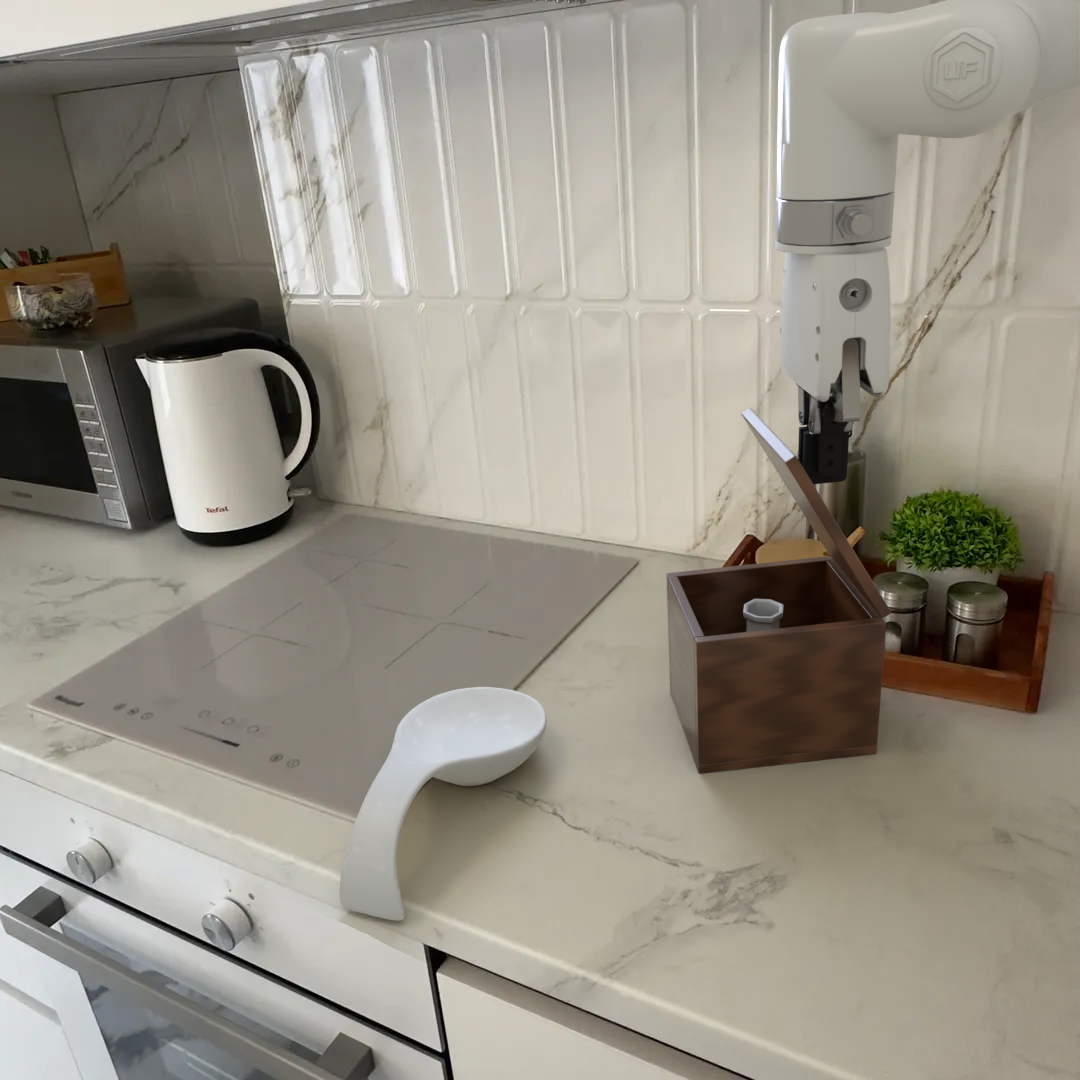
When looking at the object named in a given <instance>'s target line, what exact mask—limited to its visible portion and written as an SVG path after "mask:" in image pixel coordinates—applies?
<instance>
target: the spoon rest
mask: <svg viewBox="0 0 1080 1080" xmlns="http://www.w3.org/2000/svg"><path fill="white" fill-rule="evenodd" d="M546 713H547V712H546V710H545V708H544V706H543V705H542V704H541V703H540V702H539V701H538V700H537V699H535V698H533V697H532V696H531V695H529V694H525V693H523V692H521V691H517V690H515V689H508V688H503V687H492V686H475V687H473V686H472V687H465V688H458V689H452V690H449V691H446V692H441V693H439V694H435V695H434V696H432V697H430V698H428V699H425V700H424V701H422V702H420V703H419V704H417V705H415V706H414V707H413V708H412V709H410V710H409V711H408V712H407V713H406V714H405V715H404V716H403V718H402V719H400V722H399V723H398V725H397V727H396V729H395V733H394V737H393V741H392V746H391V749H390V751H389V754H388V755H387V758H386V760H385V761H384V763H383V765H382V766H381V768H380V769H379V771H378V773H377V774H376V776H375V777H374V779H373V780H372V783H371V784H370V786H369V788H368V790H367V793H366V795H365V797H364V799H363V801H362V804H361V805H360V809H359V811H358V813H357V816H356V819H355V821H354V824H353V827H352V830H351V833H350V836H349V839H348V842H347V846H346V849H345V853H344V858H343V862H342V867H341V873H340V880H339V903H340V905H341V907H342V908H343V909H345V910H348V911H352V912H355V913H360V914H364V915H368V916H370V917H371V916H372V917H376V918H379V919H384V920H388V921H395V922H397V921H399V922H400V921H402V920H404V918H405V908H404V904H403V900H402V894H401V889H400V884H399V877H398V871H397V870H398V869H397V867H398V866H397V852H398V843H399V837H400V834H401V831H402V827H403V824H404V821H405V818H406V816H407V814H408V812H409V809H410V807H411V805H412V803H413V801H414V799H415V798H416V796H417V795H418V793H419V791H420V790H421V789H422V788H423V787H424V785H425V784H426V783H427V782H429V780H431V779H432V778H435V779H437V780H440V781H442V782H446V783H450V784H453V785H457V786H461V787H474V786H475V787H477V786H482V785H485V784H490V783H492V782H494V781H496V780H498V779H500V778H502V777H503V776H506V775H508V774H509V773H511V772H513V771H514V770H516V769H517V768H518V767H520V766H521V765H522V764H524V763H525V761H526V760H528V759H529V758H530V756H531V755H532V754H533V753H534V752H535V750H536V749H537V748H538V746H539V744H540V742H541V741H542V738H543V736H544V734H545V732H546V728H547V725H548V724H547V723H548V718H547V714H546Z"/></svg>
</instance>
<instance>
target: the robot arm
mask: <svg viewBox="0 0 1080 1080" xmlns="http://www.w3.org/2000/svg"><path fill="white" fill-rule="evenodd" d="M778 56H779V57H778V87H777V89H778V90H777V92H778V93H777V135H776V139H777V141H776V187H775V190H776V191H775V192H776V193H775V196H776V198H775V226H774V227H775V231H774V233H775V234H774V244H775V245H774V249H775V250H776V251H778V252H782V253H785V256H784V263H783V271H782V272H783V273H782V274H783V277H782V286H781V287H782V288H781V290H782V291H781V301H780V321H779V322H780V323H779V356H780V357H779V358H780V365H781V367H782V370H783V372H784V373H785V374H786V376H788V377H789V378H790V379H791V380H792V381H793V382H795V384H796V387H797V401H798V402H797V403H798V404H797V407H798V409H797V410H798V411H797V412H798V413H797V414H798V423H799V425H800V426H799V427H798V444H797V459H798V460H799V462H800V464H801V465H802V467H803V468H804V470H805V472H806V473H807V475H808V477H809V478H810V480H811V482H812V483H813V485H820V484H831V483H832V484H833V483H842V482H844V481H846V479H847V478H848V463H849V462H848V461H849V445H850V443H849V442H850V432H851V431H852V426H853V425H852V424H853V422H859V421H860V420H861V417H862V408H861V407H862V406H861V405H862V404H861V389H862V390H863V391H865V392H866V393H868V394H869V395H870V396H872V397H875V398H880V397H882V396H884V395H885V394H886V393H887V391H888V389H889V381H890V360H891V359H890V356H891V354H890V353H891V283H890V282H891V281H890V269H889V268H890V267H889V259H888V250H887V249H886V248H887V247H889V246H891V245H892V234H893V221H894V206H895V191H896V190H895V189H896V174H897V160H898V159H897V158H898V145H899V135H907V136H917V137H918V136H919V137H929V138H941V139H963V138H964V139H965V138H970V137H974V136H979V135H982V134H985V133H987V132H989V131H991V130H994V129H995V128H997V127H998V126H1000V125H1001V124H1002V123H1004V122H1005V121H1006V120H1007V119H1009V118H1010V117H1012V116H1014V115H1016V114H1018V113H1020V112H1023V111H1025V110H1028V109H1029V108H1032V107H1034V106H1036V105H1038V104H1041V103H1043V102H1046V101H1049V100H1050V99H1053V98H1055V97H1057V96H1060V95H1062V94H1064V93H1066V92H1067V93H1068V92H1069V91H1071V90H1074V89H1076V88H1078V87H1080V0H943V1H938V2H935V3H931V4H927V5H923V6H920V7H915V8H911V9H907V10H902V11H896V12H892V13H888V12H880V11H867V12H853V13H852V12H851V13H844V14H843V13H842V14H835V15H834V14H832V15H825V16H818V17H812V18H811V17H810V18H808V19H803V20H800V21H798V22H795V23H794V24H792V25H791V26H790V27H789V28H788V29H786V31H785V33H784V35H782V39H781V41H780V46H779V54H778Z"/></svg>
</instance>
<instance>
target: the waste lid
mask: <svg viewBox="0 0 1080 1080" xmlns="http://www.w3.org/2000/svg"><path fill="white" fill-rule="evenodd" d="M740 415H741V416H742V418H743V420H744V421H745V423H746V424H747V426H748V428H749V429H750V431H751V433H752V434H753V435H754V437H755V439H756V440H757V442H758V444H759V445H760V447H761V448H762V450H763V452H764V453H765V455H766V456H767V458H768V459H769V461H770V463H771V465H772V466H773V468H774V469H775V471H776V472H777V474H778V476H779V477H780V479H781V481H782V482H783V483H784V486H785V487H786V488H787V490H788V491H789V493H790V495H791V497H792V498H793V499H794V501H795V503H796V504H797V506H798V507H799V509H800V511H801V512H802V514H803V515H804V517H805V518H806V520H807V522H808V524H809V525H810V527H811V528H812V530H813V532H814V533H815V535H816V536H817V538H818V539H819V542H820V543H821V544H822V546H823V548H824V549H825V551H826V552H827V554H828V556H831V557H832V558H833V560H834V561H835V562H836V563H837V565H838V566H839V567H840V568H841V569H842V571H843V572H844V573H845V574H846V576H847V577H848V578H849V579H850V581H851V582H852V583H853V584H854V585H855V587H856V588H857V589H858V590H859V592H860V593H861V594H862V595H863V597H864V598H865V599H866V600H867V601H868V603H869V604H870V605H871V606H872V608H873V609H874V610H875V611H876V612H877V614H878V615H879V616H880V617H881V618H883V619H884V618H886V617H887V616H890V615H891V614H892V610H891V609H890V607H889V606H888V604H887V603H886V601H885V599H884V598H883V596H882V594H881V592H880V590H878V588H877V586H876V584H875V583H874V581H873V580H872V578H871V576H870V575H869V573H868V571H867V570H866V567H864V565H863V564H862V563H863V562H861V560H860V558H859V556H858V555H857V553H856V552H855V550H854V549H853V547H852V545H851V544H850V542H849V540H848V539H847V537H846V535H845V534H844V532H843V531H842V529H841V527H840V526H839V524H838V522H837V521H836V519H835V517H834V516H833V513H832V512H831V511H830V509H829V507H828V506H827V504H826V503H825V500H824V499H823V498H822V496H821V495H820V493H819V491H818V490H817V488H816V486H815V484H813V483H812V482H811V480H810V478H809V477H808V475H807V473H806V472H805V470H804V468H803V467H802V465H801V464H800V462H799V460H798V456H797V455H796V454H795V453H794V452H793V451H792V450H791V449H790V448H789V447H788V446H787V445H786V444H785V443H784V442H783V440H781V438H779V437H778V436H777V434H776V433H775V432H774V431H773V429H771V428H770V427H769V426H768V425H767V424H766V423H765V422H764V420H763V419H761V418H760V417H759V415H758V414H757V413H756V412H755V411H754V410H753V409H752V408H751V407H748V408H747V409H745V410H744V411H742V412H741V414H740Z"/></svg>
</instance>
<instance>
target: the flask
mask: <svg viewBox="0 0 1080 1080" xmlns="http://www.w3.org/2000/svg"><path fill="white" fill-rule="evenodd" d="M743 616H744V618H746V620H747V631H746V632H751V631H761V630H770V629H779V622H780V619H781V618H782V617H783V604H781V603H778V602H776V601H773V600H771V599H753V600H751V601H749V602H748V603H746V604H744V610H743Z"/></svg>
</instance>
